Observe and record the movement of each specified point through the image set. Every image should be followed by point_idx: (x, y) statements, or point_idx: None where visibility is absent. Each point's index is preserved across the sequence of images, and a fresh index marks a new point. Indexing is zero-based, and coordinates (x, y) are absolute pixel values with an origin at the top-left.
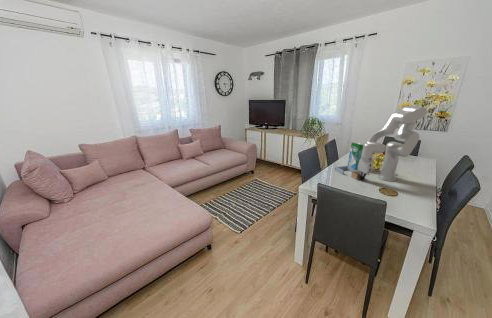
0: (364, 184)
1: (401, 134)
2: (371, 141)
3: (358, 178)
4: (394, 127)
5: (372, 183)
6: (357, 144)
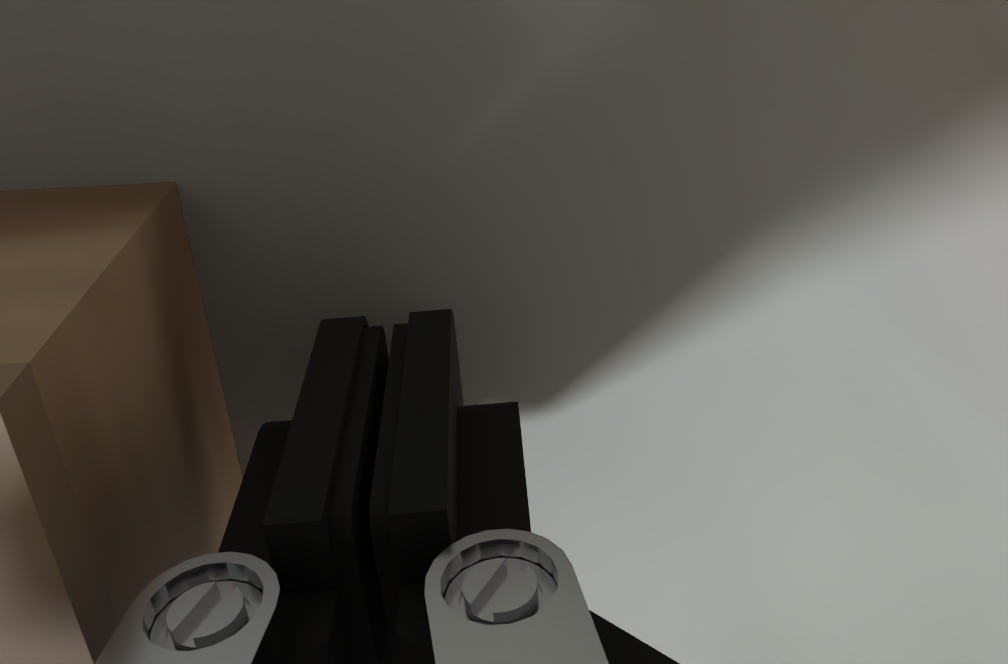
0: (827, 526)
1: None
2: None
3: (220, 488)
4: None
5: (916, 26)
6: None
